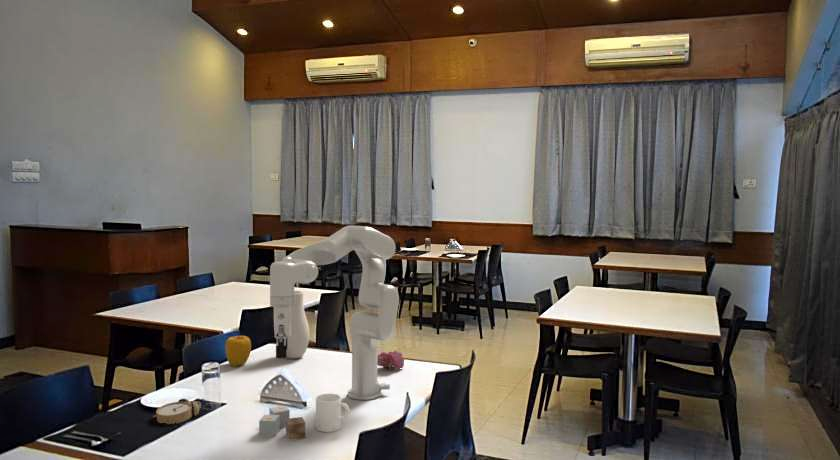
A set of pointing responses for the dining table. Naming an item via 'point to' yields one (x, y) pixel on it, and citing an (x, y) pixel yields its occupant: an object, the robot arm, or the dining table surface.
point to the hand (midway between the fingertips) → (281, 353)
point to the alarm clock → (177, 411)
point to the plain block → (295, 428)
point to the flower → (391, 360)
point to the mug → (329, 412)
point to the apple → (238, 350)
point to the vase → (298, 329)
